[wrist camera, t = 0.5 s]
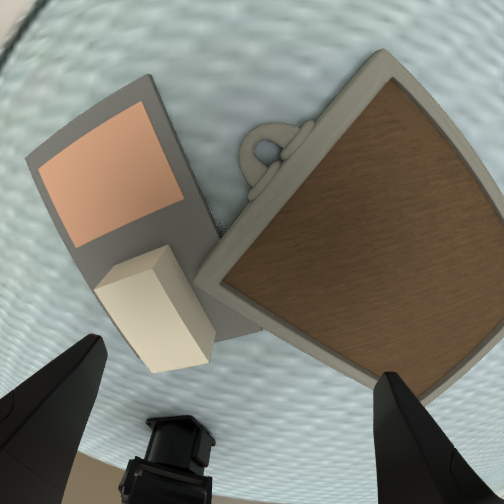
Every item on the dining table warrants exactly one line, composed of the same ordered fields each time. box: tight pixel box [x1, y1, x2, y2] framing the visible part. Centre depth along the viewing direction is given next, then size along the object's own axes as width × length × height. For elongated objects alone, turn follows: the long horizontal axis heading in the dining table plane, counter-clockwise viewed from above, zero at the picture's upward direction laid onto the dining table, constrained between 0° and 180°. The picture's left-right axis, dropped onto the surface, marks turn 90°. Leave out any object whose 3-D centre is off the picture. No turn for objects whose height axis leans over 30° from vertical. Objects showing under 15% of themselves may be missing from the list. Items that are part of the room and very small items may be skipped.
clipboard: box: [192, 49, 504, 407], centre depth 20 cm, size 19×2×30 cm
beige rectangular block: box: [94, 244, 216, 373], centre depth 21 cm, size 5×8×4 cm, turn 21°
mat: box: [25, 74, 262, 358], centre depth 21 cm, size 12×20×1 cm, turn 21°
